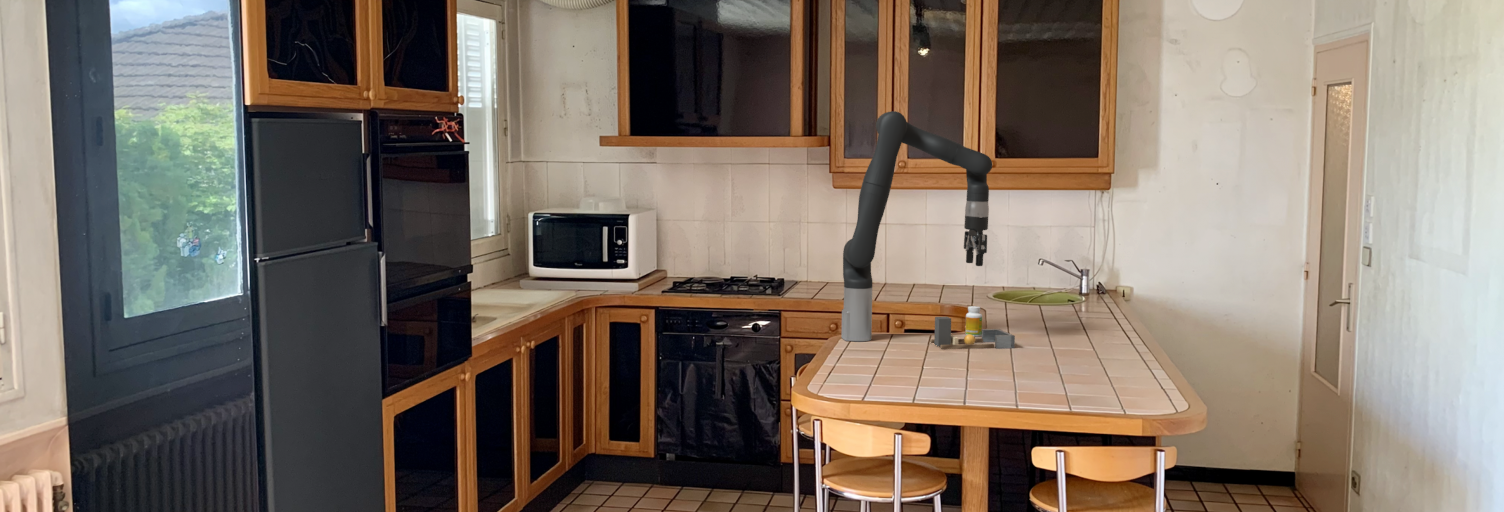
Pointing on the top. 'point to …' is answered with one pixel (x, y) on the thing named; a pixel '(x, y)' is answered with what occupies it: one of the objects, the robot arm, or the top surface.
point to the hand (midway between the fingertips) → (974, 264)
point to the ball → (969, 339)
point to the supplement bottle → (974, 321)
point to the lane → (966, 345)
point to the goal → (998, 338)
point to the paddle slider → (944, 332)
